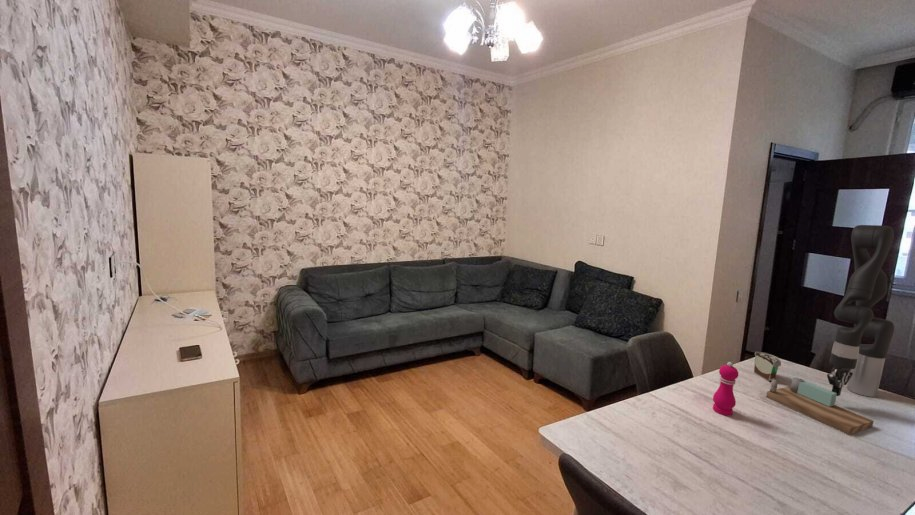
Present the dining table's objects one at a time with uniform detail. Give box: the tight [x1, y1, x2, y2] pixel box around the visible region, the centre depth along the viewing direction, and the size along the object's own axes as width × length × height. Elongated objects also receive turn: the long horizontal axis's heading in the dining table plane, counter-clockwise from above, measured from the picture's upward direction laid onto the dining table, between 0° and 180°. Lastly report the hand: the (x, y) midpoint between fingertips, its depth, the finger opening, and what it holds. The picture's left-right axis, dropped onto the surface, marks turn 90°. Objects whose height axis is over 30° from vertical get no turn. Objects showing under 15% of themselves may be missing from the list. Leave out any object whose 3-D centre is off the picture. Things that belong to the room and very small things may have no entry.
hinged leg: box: [790, 377, 837, 407], centre depth 159 cm, size 14×4×5 cm, turn 21°
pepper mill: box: [712, 361, 739, 417], centre depth 150 cm, size 7×7×20 cm
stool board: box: [765, 379, 875, 436], centre depth 154 cm, size 15×27×8 cm, turn 21°
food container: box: [753, 351, 782, 383], centre depth 182 cm, size 12×6×10 cm, turn 179°
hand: (835, 394), depth 159 cm, fingers closed
